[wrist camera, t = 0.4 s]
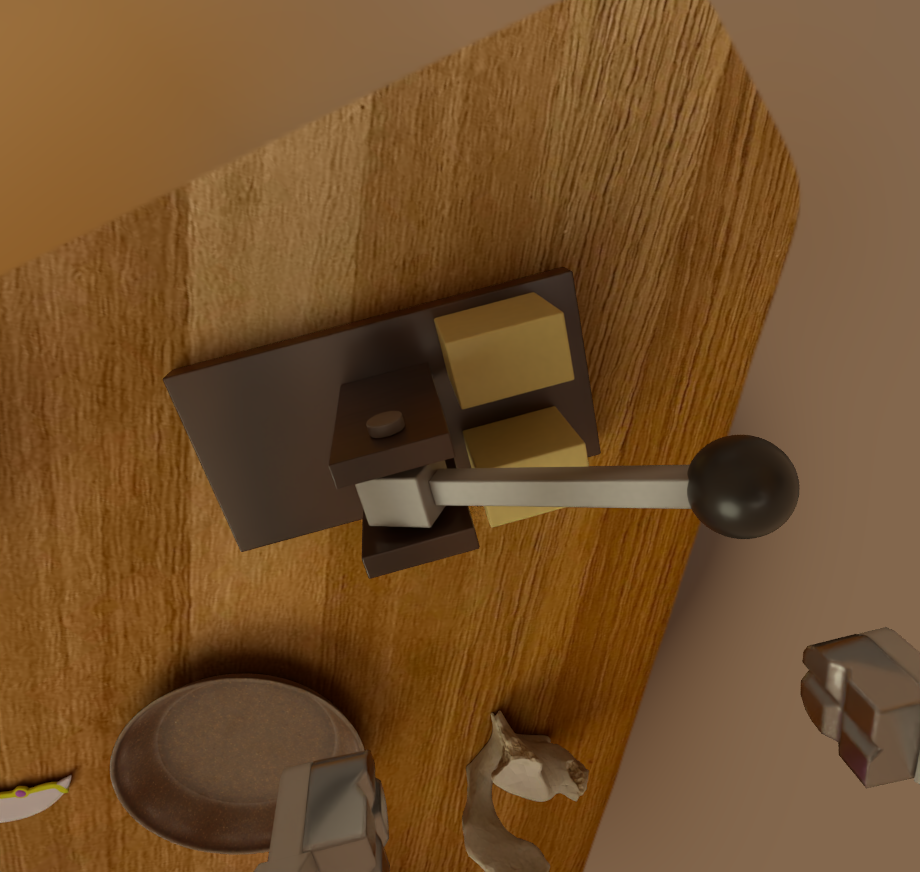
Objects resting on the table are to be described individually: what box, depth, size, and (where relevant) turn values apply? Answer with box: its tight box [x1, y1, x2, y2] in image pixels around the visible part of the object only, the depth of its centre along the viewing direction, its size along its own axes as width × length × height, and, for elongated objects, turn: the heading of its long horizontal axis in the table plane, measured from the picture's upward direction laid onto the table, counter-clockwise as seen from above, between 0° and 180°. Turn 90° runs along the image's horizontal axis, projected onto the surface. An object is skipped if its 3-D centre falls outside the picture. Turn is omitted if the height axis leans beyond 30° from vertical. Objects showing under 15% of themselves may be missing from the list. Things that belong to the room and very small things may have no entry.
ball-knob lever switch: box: [355, 435, 799, 539], centre depth 22 cm, size 15×3×3 cm, turn 103°
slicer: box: [163, 267, 601, 578], centre depth 28 cm, size 20×10×11 cm, turn 103°
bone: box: [462, 711, 589, 872], centre depth 39 cm, size 9×6×10 cm
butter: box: [434, 292, 589, 527], centre depth 29 cm, size 9×5×5 cm, turn 13°
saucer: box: [110, 673, 365, 854], centre depth 38 cm, size 15×15×3 cm
